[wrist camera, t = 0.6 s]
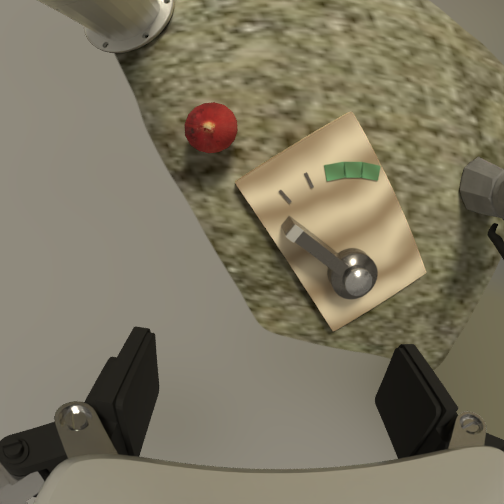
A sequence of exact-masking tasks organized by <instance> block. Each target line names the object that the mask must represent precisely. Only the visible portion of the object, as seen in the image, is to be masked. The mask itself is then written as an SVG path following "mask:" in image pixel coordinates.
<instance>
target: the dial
mask: <svg viewBox="0 0 504 504" xmlns="http://www.w3.org/2000/svg"><path fill="white" fill-rule="evenodd" d="M281 227H282V229H283V231H284V234H285V235H286V236H285V237H286V238H288V239H289V240H290V241H292V242H293V243H294V242H295V243H297V244H298V245H299V246H301V247H302V248H303V249H305V250H306V251H307V252H309V253H310V254H311V255H313V256H314V257H315V258H317V259H318V260H319V261H321V262H322V263H323V264H325V265H326V266H327V267H328V271H327V275H328V279H329V282H330V283H331V285H332V287H333V289H334V291H335V292H336V293H337V294H338V295H339V296H340V297H342V298H345V299H357V298H360V297H363V296H364V295H366V294H367V293H368V292H369V291H370V290H371V289H372V288H373V287H374V285H375V283H376V280H377V276H378V271H377V266H376V264H375V263H374V261H373V260H372V259H371V258H370V257H369V256H368V255H367V254H366V253H365V252H364V251H362V250H360V249H357V248H348V249H345V250H342V251H340V252H339V253H337V252H336V251H334V250H333V249H332V248H331V247H329V246H328V245H327V244H326V243H324V242H323V241H322V240H320V239H319V238H318V237H317V236H315V235H314V234H313V233H311V232H310V231H309V230H308V229H306V228H305V227H304V226H302V225H301V224H300V223H298V222H297V221H296V220H294V219H293V218H292V217H291V216H288V217H287V219H286V220H285V221H284V222H283V224H282V225H281Z"/></svg>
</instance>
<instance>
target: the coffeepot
mask: <svg viewBox="0 0 504 504" xmlns="http://www.w3.org/2000/svg"><path fill="white" fill-rule="evenodd" d="M460 193H461V197H462V200H463V202H464V204H465V206H466V209H468V210H471V211H474V212H477V213H479V214H484V215H489V216H494V217H499V218H502V219H503V220H504V169H502V168H500V167H498V166H496V165H494V164H492V163H490V162H488V161H486V160H484V159H482V158H479V157H478V158H476V159H475V160H473V161H471V162H470V163H469V164H468V165H467V166H466V167H465V168H464V171H463V174H462V177H461V182H460ZM497 226H498V224H496V223H494V224H493V225H492V226H491V227H490V229H489V231H488V237H489V238H490V240H491V241H492V242H493V244H494V245H495V247H496V248H497V250H498V251H499V253H500V254H501V256H502V258H503V259H504V242H503V239H502V238H501V237H500V236H499V235H497V234H496V233H495V231H496V228H497Z"/></svg>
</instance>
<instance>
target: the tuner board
mask: <svg viewBox="0 0 504 504" xmlns="http://www.w3.org/2000/svg"><path fill="white" fill-rule="evenodd" d="M235 184H236V185H237V187H238V188H239V190H240V191H241V192H242V194H243V195H244V197H245V198H246V200H247V201H248V203H249V204H250V206H251V207H252V209H253V210H254V212H255V213H256V215H257V216H258V218H259V219H260V221H261V222H262V224H263V225H264V227H265V228H266V230H267V231H268V233H269V234H270V236H271V237H272V239H273V240H274V242H275V243H276V245H277V246H278V248H279V249H280V251H281V252H282V254H283V255H284V257H285V258H286V260H287V261H288V263H289V264H290V266H291V267H292V269H293V270H294V272H295V273H296V275H297V276H298V278H299V280H300V281H301V283H302V284H303V286H304V287H305V289H306V290H307V292H308V293H309V295H310V296H311V298H312V300H313V301H314V303H315V304H316V306H317V307H318V309H319V310H320V312H321V313H322V315H323V317H324V318H325V320H326V321H327V323H328V324H329V326H330V328H331V329H332V331H333V332H334V331H335V330H337V329H339V328H340V327H342V326H344V325H346V324H347V323H349V322H351V321H352V320H354V319H356V318H357V317H359V316H361V315H362V314H364V313H366V312H367V311H369V310H370V309H372V308H374V307H375V306H377V305H378V304H380V303H382V302H383V301H385V300H386V299H388V298H389V297H391V296H392V295H394V294H396V293H397V292H399V291H400V290H402V289H403V288H405V287H406V286H408V285H409V284H411V283H412V282H414V281H415V280H416V279H418V278H419V277H421V276H422V275H424V274H425V273H426V270H425V267H424V264H423V261H422V259H421V256H420V253H419V251H418V248H417V245H416V243H415V240H414V238H413V235H412V233H411V230H410V228H409V225H408V223H407V220H406V218H405V216H404V213H403V211H402V209H401V206H400V204H399V202H398V200H397V197H396V195H395V193H394V191H393V189H392V186H391V184H390V182H389V180H388V178H387V176H386V174H385V172H384V170H383V168H382V166H381V164H380V162H379V160H378V158H377V156H376V154H375V152H374V150H373V148H372V146H371V144H370V142H369V141H368V139H367V137H366V135H365V133H364V131H363V130H362V128H361V126H360V124H359V122H358V121H357V119H356V117H355V115H354V114H353V112H348V113H346V114H345V115H343V116H341V117H339V118H338V119H336V120H334V121H332V122H331V123H329V124H327V125H325V126H324V127H322V128H320V129H318V130H317V131H315V132H313V133H312V134H310V135H308V136H307V137H305V138H303V139H302V140H300V141H298V142H297V143H295V144H293V145H292V146H290V147H288V148H287V149H285V150H283V151H282V152H280V153H279V154H277V155H275V156H274V157H272V158H271V159H269V160H267V161H266V162H264V163H263V164H261V165H259V166H258V167H256V168H255V169H253V170H252V171H250V172H249V173H247V174H245V175H244V176H242V177H241V178H239V179H238V180H236V181H235ZM288 216H291V217H292V218H293V219H294V220H296V221H297V222H298V223H300V224H301V225H302V226H304V227H305V228H306V229H308V230H309V231H310V232H311V233H313V234H314V235H315V236H317V237H318V238H319V239H320V240H322V241H323V242H324V243H326V244H327V245H328V246H329V247H331V248H332V249H333V250H334V251H336V252H337V253H339V252H340V251H342V250H345V249H348V248H357V249H360V250H362V251H364V252H365V253H366V254H367V255H368V256H369V257H370V258H371V259H372V260H373V261H374V263H375V264H376V266H377V271H378V276H377V280H376V283H375V285H374V287H373V288H372V289H371V290H370V291H369V292H368V293H367V294H366V295H364V296H363V297H360V298H357V299H345V298H342V297H340V296H339V295H338V294H337V293H336V292H335V291H334V289H333V287H332V285H331V283H330V282H329V279H328V275H327V271H328V267H327V266H326V265H325V264H323V263H322V262H321V261H319V260H318V259H317V258H315V257H314V256H313V255H311V254H310V253H309V252H307V251H306V250H305V249H303V248H302V247H301V246H299V245H298V244H297V243H295V242H294V243H293V242H292V241H290V240H289V239H288V238H286V237H285V236H286V235H285V234H284V231H283V229H282V227H281V225H282V224H283V222H284V221H285V220H286V219H287V217H288Z"/></svg>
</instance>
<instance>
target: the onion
mask: <svg viewBox="0 0 504 504" xmlns="http://www.w3.org/2000/svg"><path fill="white" fill-rule="evenodd" d="M237 131H238V130H237V120H236V118H235V116H234V114H233V112H232V111H231V110H230V109H228V108H227V107H226V106H225V105H222V104H218V103H215V102H213V103H204V104H202V105H200V106H197V107H195V108H194V109H193V110H192V111H191V112H190V114H189V115H188V117H187V120H186V122H185V136H186V138H187V140H188V141H189V143H190V145H191V146H193V147H194V148H196V149H197V150H199V151H202V152H206V153H215V152H220V151H222V150H224V149H226V148H228V147H229V146H230V145H231V144H232V142H233V141H234V140H235V137H236V134H237Z"/></svg>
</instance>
